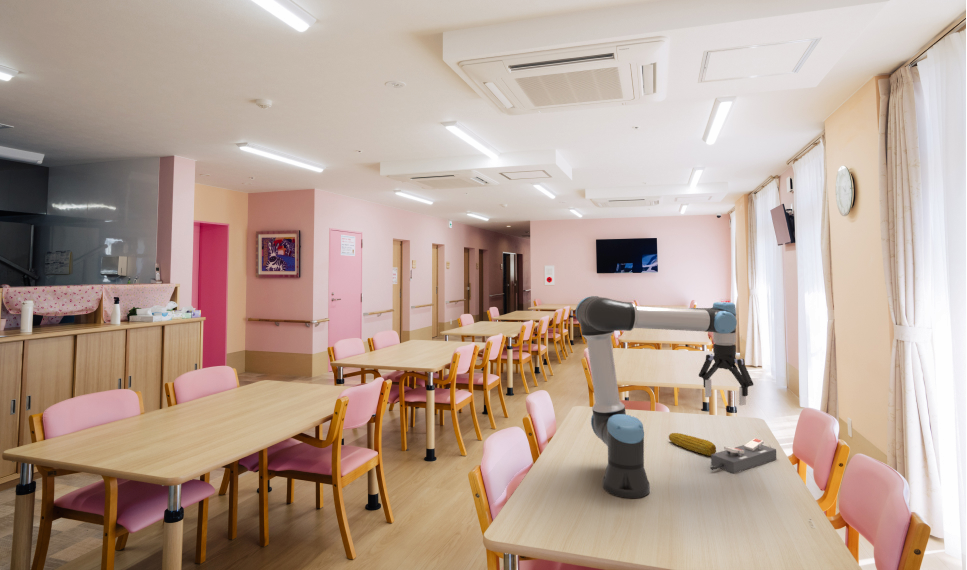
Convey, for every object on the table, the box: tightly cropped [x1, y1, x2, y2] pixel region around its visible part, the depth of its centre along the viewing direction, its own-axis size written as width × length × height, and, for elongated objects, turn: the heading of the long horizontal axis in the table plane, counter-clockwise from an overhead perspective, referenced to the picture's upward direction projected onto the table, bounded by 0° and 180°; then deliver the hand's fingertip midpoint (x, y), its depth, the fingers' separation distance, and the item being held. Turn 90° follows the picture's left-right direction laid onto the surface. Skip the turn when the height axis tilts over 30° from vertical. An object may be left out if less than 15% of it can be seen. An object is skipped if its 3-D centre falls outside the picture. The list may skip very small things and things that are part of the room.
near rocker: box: [723, 446, 744, 454], centre depth 177 cm, size 7×4×1 cm, turn 118°
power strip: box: [709, 443, 777, 474], centre depth 178 cm, size 32×9×5 cm, turn 118°
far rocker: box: [743, 438, 764, 451], centre depth 182 cm, size 7×4×1 cm, turn 118°
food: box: [668, 432, 717, 457], centre depth 194 cm, size 21×6×6 cm, turn 31°
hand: (724, 400), depth 176 cm, fingers open, 13 cm apart
